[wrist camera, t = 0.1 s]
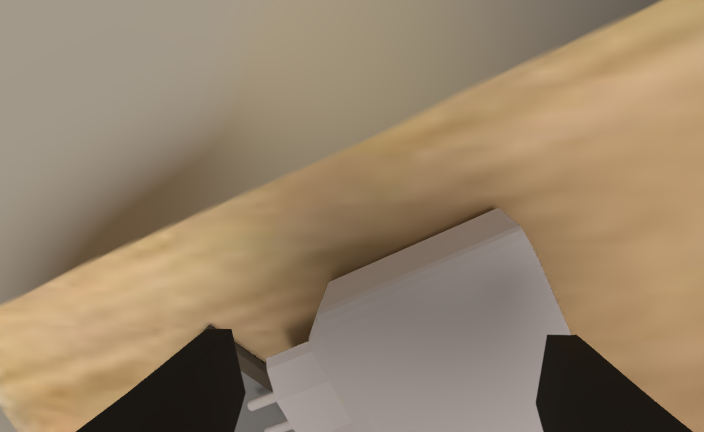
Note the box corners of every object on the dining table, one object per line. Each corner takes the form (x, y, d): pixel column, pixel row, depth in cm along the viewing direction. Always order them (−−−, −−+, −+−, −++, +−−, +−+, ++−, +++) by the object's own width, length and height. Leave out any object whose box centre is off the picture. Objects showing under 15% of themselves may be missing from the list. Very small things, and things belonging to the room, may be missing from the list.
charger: (230, 319, 21) (495, 202, 18) (310, 450, 23) (565, 362, 20) (186, 375, 17) (528, 231, 14) (289, 533, 18) (616, 434, 15)
